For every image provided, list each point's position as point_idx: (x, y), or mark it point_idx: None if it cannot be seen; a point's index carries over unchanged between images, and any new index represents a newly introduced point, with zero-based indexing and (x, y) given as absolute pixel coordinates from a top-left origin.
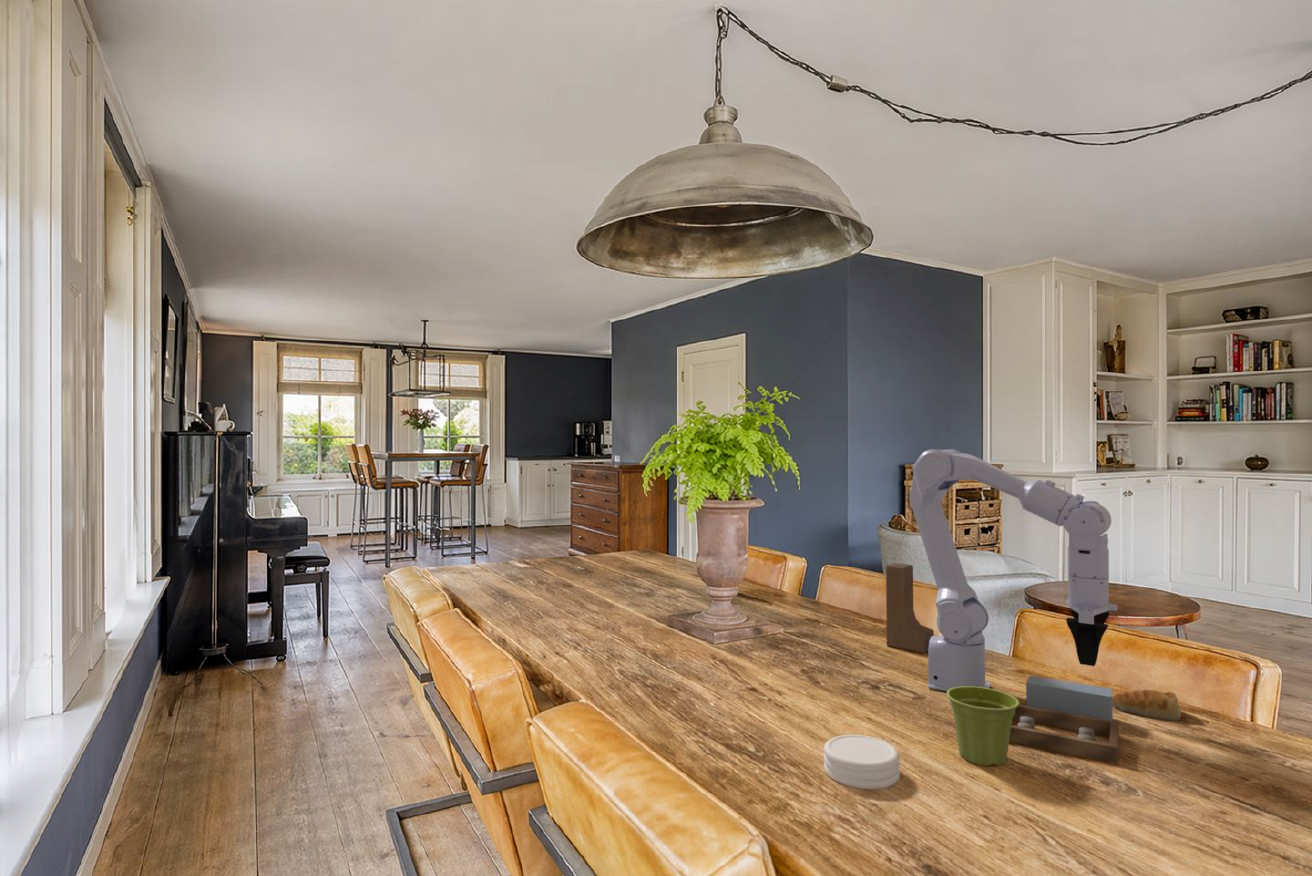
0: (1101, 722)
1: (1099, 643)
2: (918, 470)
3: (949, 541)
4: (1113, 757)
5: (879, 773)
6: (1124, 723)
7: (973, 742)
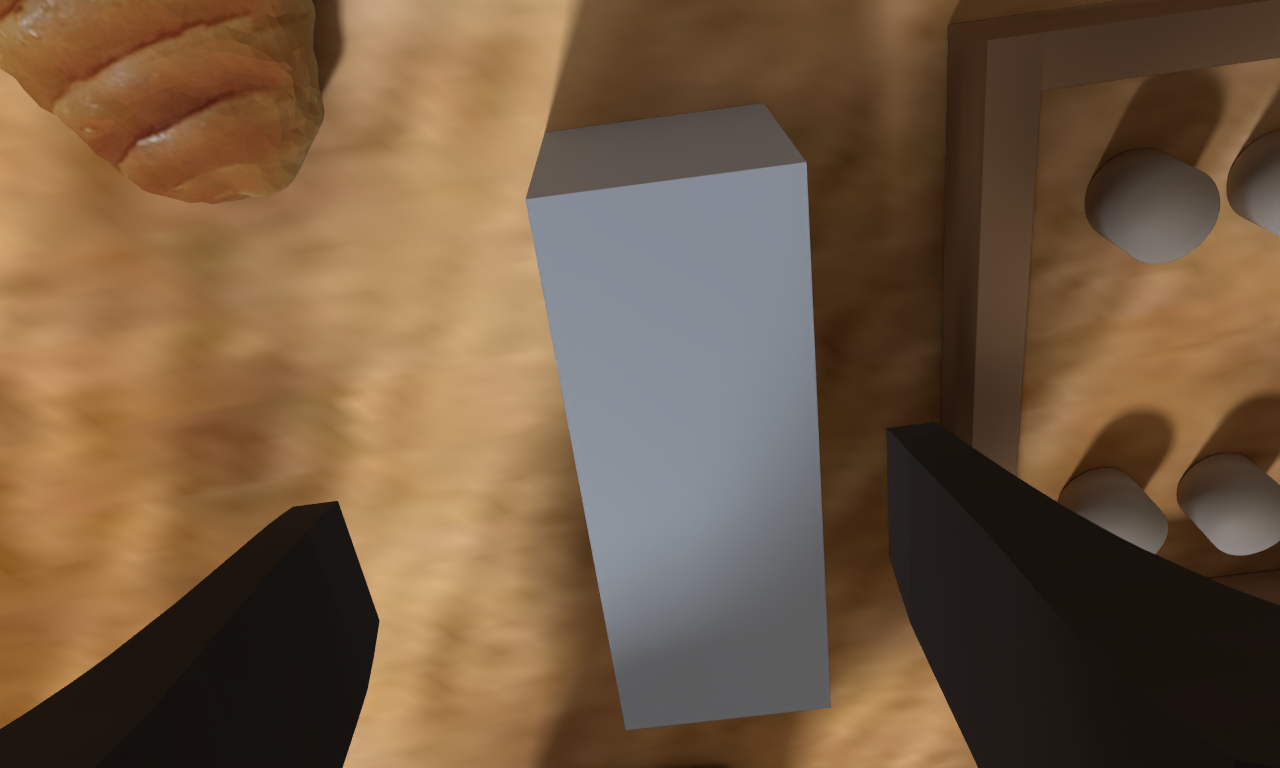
0: (1030, 154)
1: (1172, 568)
2: None
3: None
4: None
5: None
6: (604, 40)
7: None
